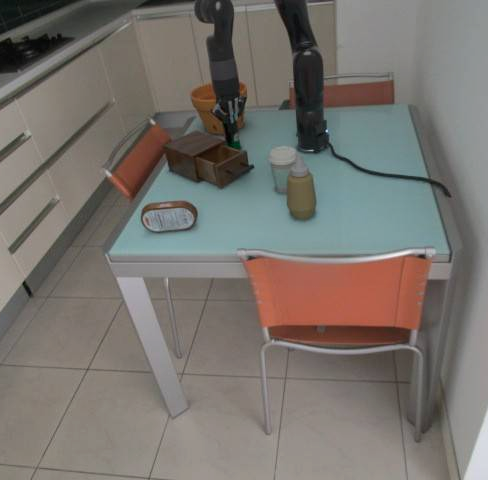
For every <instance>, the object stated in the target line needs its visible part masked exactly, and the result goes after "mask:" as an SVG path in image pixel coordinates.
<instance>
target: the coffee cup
mask: <svg viewBox="0 0 488 480" xmlns="http://www.w3.org/2000/svg"><path fill="white" fill-rule="evenodd" d="M297 153H298V152H297V150H296V149H295V148H294V147H293V146H290V145H289V146H288V145H282V146H281V145H280V146H276V147H274V148H272V149H271V150H270V151H269V155H268V158H267V160H268V162H269V164H270V169H271V174H272V178H273V182H274V187H275V190H276V192H278V193H280V194H287V178H288V175H289V174H290V173H291V171H290V168H291V166H292V165H294V164H295V159H296V154H297Z"/></svg>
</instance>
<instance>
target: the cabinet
mask: <svg viewBox="0 0 488 480" xmlns="http://www.w3.org/2000/svg"><path fill="white" fill-rule="evenodd" d="M221 144H222V145H225V146H226V143H225V138H221V137H217V136H215V135H213V134H210V133H209V134H208V133H205V132H203V131H199V130H197V129H195V130H193V131H191V132H189V133H187V134H184V135H182V136H179V137H178V138H176V139H174V140H171V141H169V142H168V143H165V144H163V150H164V154H165V159H166V162H167V166H168V170H169V172H172V173H174V174H176V175H179V176H181V177H184V178H186V179H188V180H190V181H193V182H195V183H197V184H198V183H200V182H202V181H204V180H205V179H203V178H200V177H199V176H198V171H197V166H196V162H195V157H197V156H199V155H201V154H203V153H205V152H207V151H209V150H211V149H213V148H215V147H217V146H219V145H221Z"/></svg>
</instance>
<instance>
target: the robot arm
mask: <svg viewBox="0 0 488 480" xmlns="http://www.w3.org/2000/svg"><path fill="white" fill-rule="evenodd" d="M272 1H273V3H274V6H275V8H276V11H277V13H278V16H279V18H280V19H281V22H282V24H283V25H284V28H285V30H286V33H287V37H288V41H289V45H290V50H291V57H292V60H291V61H292V76H293V89H294V90H293V93H294V105H295V106H294V107H295V122H296V123H295V125H296V133H295V135H296V139H297V150H298V151H300V152H303V153H311V154H313V153H314V154H318V153H319V152H321V151H322V150H324V149H326V148H327V147H329V149H330V152H331V154H332V156H334V157H335V158H336V159H339V160H341V161H345V162H347V163H348V164H350V165H351V166H352V167H353V168H355V169H356V170H358V171H361V172H364V173H367V174H371V175H375V176H380V177H386V178H387V177H388V178H398V179H405V180H414V181H415V180H417V181H423V182H427V183H430V184H433V185H436V186H438V187H440V188H441V189H442V190H443V191H444V193H445V194H446V196H447V198H449V199H451V198H452V194H451V193H450V190H448V187H446V185H444V184H443V183H442V182H440V181H437V180H435V179H431V178H428V177H424V176H417V175H407V174H397V173H387V172H381V171H376V170H371V169H367V168H364V167H362V166H360V165H357V164H356V163H354V161H352V160H350V159H349V158H347V157H344V156H341V155H338V154H337V153H336V152H335V149H334V146H333V145H332V143H331V142H330V134H329V133H328V121H327V119H325V98H324V97H325V95H324V92H325V91H324V90H325V73H324V72H325V71H324V69H325V68H324V58H323V54H322V51H321V49H320V47H319V45H318V42H317V39H316V37H315V34H314V31H313V28H312V25H311V21H310V17H309V16H310V15H309V8H308V1H307V0H272ZM193 12H194V16H195V18H196V19H197V20H198V21H199V22H200V23H201V24H205V25H206V24H208V25H213V33H211V34H208V36H207V37H206V39H205V46H206V53H207V57H208V58H207V59H208V66H209V67H208V68H209V75H210V79H211V83H212V86H213V92H214V94H215V95H216V106H215V108H214V109H211V113H212V114H213V115H214V116H216V117H217V118H218V119H219V120H220V121H221V122H224V123H227V128H228V132H229V133H230V134H232V135H234V134H236V133H238V131H239V130H238V125H237V120H238V117H241V116H242V113H243V110H244V107H245V108H246V103H247V100H248V96H247V97H244V96H241V95H240V92H239V90H240V84H239V82H240V79H239V72H238V65H237V60H236V56H235V49H234V44H233V43H234V42H233V36H234V28H235V27H234V26H235V7H234V4H233V1H232V0H194V5H193ZM239 108H240V109H239ZM238 109H239V112H238ZM221 110H222V111H221ZM244 111H245V110H244ZM221 112H222V113H221Z"/></svg>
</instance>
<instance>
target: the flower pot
mask: <svg viewBox="0 0 488 480" xmlns="http://www.w3.org/2000/svg"><path fill="white" fill-rule="evenodd" d="M239 84H240V90H239V92H240V95H241V96H244V97H247V98H248V88H247V85H246V83H245V82H243V81H239ZM189 97H190V101H191V103H192V107H193V108H194V109H195V110H196V111H197V113H198V116H199V118H200V120H201V122H202V124H203V126H204V128H205V130H206V132H208V133H209V134H210V135H224V131H223V125H222V122H221V121H220V120H219V119H218V118H217V117H216V116H214V115H213V114H212V113H211V109H214V108H215V106H216V95H215V94H214V92H213V86H212V82H208V83H204V84H201V85H199V86H197V87H195V88H193V89H192V90H191V91H190V93H189ZM245 108H246V106H245V107H244V110H243V113H242V116H241V117H238V120H237V124H238V131H239V130H241V129H242V127H243V126H244V119H245ZM239 109H240V108H239ZM239 109H238V112H239ZM221 111H222V110H221ZM221 113H222V112H221Z"/></svg>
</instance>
